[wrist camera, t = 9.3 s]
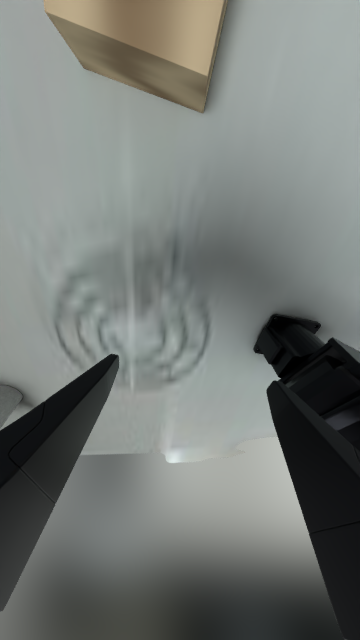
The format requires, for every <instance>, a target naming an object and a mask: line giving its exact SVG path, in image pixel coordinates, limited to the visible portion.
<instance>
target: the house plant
mask: <svg viewBox="0 0 360 640" xmlns="http://www.w3.org/2000/svg"><path fill="white" fill-rule="evenodd" d="M22 398H23V396H22V394H21V393H20V392H19V391H18V390H16V389H15V388H12V387H10V386H6V385H0V428H1V427H2V425H3V424H4V423H5V421H6V420H7V419H8V417H9V416H10V414H11V413H12V412H13V410H14V409H15V408H16V406H17V405H18V403H19V402H20V401H21V399H22Z"/></svg>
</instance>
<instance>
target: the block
mask: <svg viewBox="0 0 360 640" xmlns="http://www.w3.org/2000/svg"><path fill="white" fill-rule="evenodd" d="M227 3H228V0H44V8H45V12H46V14H47V15H48V17H49V18H50V20H51V21H52V22H53V24H54V25H55V27H56V28H57V30H58V31H59V33H60V34H61V36H62V37H63V39H64V40H65V41H66V43H67V44H68V46H69V47H70V49H71V50H72V52H73V53H74V55H75V56H76V58H77V59H78V60H79V62H80V63H81V65H82V66H83V68H84V69H87V70H90V71H92V72H95V73H98V74H100V75H103V76H106V77H108V78H111V79H114V80H116V81H119V82H121V83H124V84H127V85H129V86H132V87H135V88H137V89H140V90H143V91H145V92H148V93H151V94H153V95H156V96H158V97H161V98H164V99H166V100H169V101H172V102H174V103H177V104H180V105H182V106H185V107H188V108H190V109H193V110H195V111H198V112H201V113H203V111H204V107H205V102H206V98H207V93H208V89H209V84H210V80H211V75H212V71H213V66H214V62H215V57H216V53H217V48H218V43H219V39H220V34H221V30H222V25H223V21H224V16H225V12H226V7H227Z"/></svg>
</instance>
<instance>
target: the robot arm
mask: <svg viewBox="0 0 360 640" xmlns="http://www.w3.org/2000/svg"><path fill="white" fill-rule="evenodd" d="M276 317H277V318H276ZM275 318H276V319H275ZM320 327H321V324H320V323H318V322H315V321H310V320H305V319H299V318H294V317H288V316H283V315H278V314H275V315H273V316H272V317H271V318H270V320H269V322H268V324H267V325H266V327H265V329H264V330H263V332H262V333H261V335H260V337H259V339H258V341H257V343H256V345H255V347H254V352H255V353H259V354H263V355H264V356H265V358H266V360H267V362H268V363H269V364H271V365H272V367H273V369H274V370H275V372H276V374H277V376H278V377H279V378H281V379H280V380H278V381H273V382H272V383H271V384H270V386H269V387H268V388H267V397H268V401H269V406H270V410H271V415H272V419H273V423H274V426H275V429H276V432H277V435H278V438H279V442H280V445H281V448H282V451H283V454H284V457H285V460H286V463H287V466H288V470H289V473H290V476H291V479H292V482H293V485H294V488H295V491H296V494H297V498H298V500H299V504H300V507H301V510H302V513H303V516H304V520H305V523H306V526H307V529H308V531H309V536H310V539H311V542H312V545H313V548H314V551H315V554H316V557H317V560H318V564H319V566H320V570H321V573H322V576H323V579H324V582H325V585H326V588H327V592H328V595H329V598H330V601H331V604H332V607H333V610H334V614H335V616H336V620H337V623H338V626H339V629H340V631H341V634H342V637H343V638H344V639H346V640H360V352H359V351H357V350H356V349H354V348H352V347H350V346H348V345H346V344H344V343H342V342H340V341H339V340H337V339H335V338H333V337H332V338H331V339H330V340H328V343H326V344H325V343H324V342H322V341H321V340H320V339H319V338H318V337H317V336H316V335H315V333H316V332H317V331H318V329H319V328H320ZM257 349H258V350H257ZM118 368H119V356H118V355H115V354H110V355H109V356H107V357H106V358H104V359H103V360H101V361H100V362H99V363H97V364H96V365H94V366H93V367H92V368H90V369H89V370H87V371H86V372H85V373H83V374H82V375H80V376H79V377H78V378H76V379H75V380H73V381H72V382H71V383H69V384H68V385H66V386H65V387H64V388H62V389H61V390H59V391H58V392H57V393H55V394H54V395H52V396H51V397H49V398H48V399H47V400H46V401H44V402H42V403H41V404H40V405H38V406H37V407H35V408H34V409H32V410H31V411H29V412H28V413H27V414H25V415H24V416H22V417H21V418H19V419H18V420H16V421H15V422H13V423H11V424H10V425H8V426H7V427H5V428H4V429H2V430H0V611H3V609H4V607H5V606H6V604H7V602H8V600H9V598H10V596H11V594H12V592H13V590H14V588H15V586H16V584H17V582H18V580H19V578H20V576H21V573H22V571H23V569H24V568H25V565H26V563H27V561H28V559H29V557H30V555H31V553H32V551H33V549H34V547H35V545H36V543H37V541H38V539H39V537H40V535H41V533H42V531H43V529H44V527H45V525H46V523H47V521H48V519H49V517H50V514H51V512H52V510H53V508H54V506H55V503H56V502H57V500H58V498H59V496H60V494H61V492H62V490H63V488H64V486H65V483H66V482H67V480H68V478H69V476H70V473H71V471H72V469H73V467H74V465H75V463H76V461H77V459H78V457H79V455H80V453H81V451H82V449H83V447H84V445H85V443H86V441H87V439H88V437H89V435H90V433H91V431H92V429H93V427H94V425H95V423H96V421H97V419H98V416H99V414H100V412H101V410H102V408H103V406H104V404H105V402H106V400H107V398H108V396H109V393H110V391H111V388H112V385H113V382H114V380H115V377H116V374H117V371H118Z"/></svg>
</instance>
